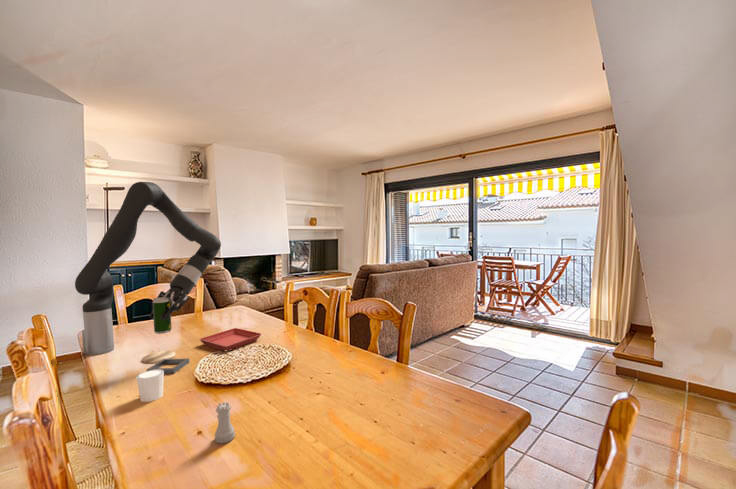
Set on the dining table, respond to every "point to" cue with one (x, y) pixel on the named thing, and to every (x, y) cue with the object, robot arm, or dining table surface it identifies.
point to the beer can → (158, 310)
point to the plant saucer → (230, 339)
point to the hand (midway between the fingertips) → (157, 318)
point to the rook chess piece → (224, 424)
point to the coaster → (158, 356)
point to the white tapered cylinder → (150, 385)
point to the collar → (173, 370)
